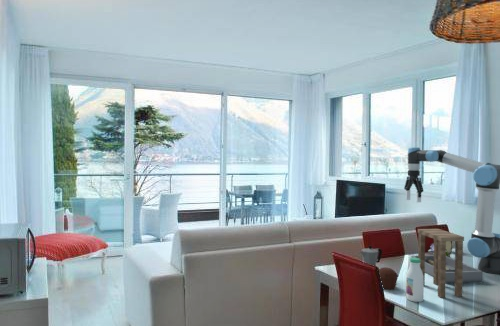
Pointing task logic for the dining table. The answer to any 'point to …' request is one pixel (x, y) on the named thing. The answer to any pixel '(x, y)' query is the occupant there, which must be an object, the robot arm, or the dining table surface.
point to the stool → (442, 258)
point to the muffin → (388, 278)
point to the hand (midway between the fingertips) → (413, 201)
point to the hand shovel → (446, 267)
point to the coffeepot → (371, 255)
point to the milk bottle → (414, 281)
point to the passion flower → (433, 250)
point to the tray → (468, 272)
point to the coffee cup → (448, 246)
